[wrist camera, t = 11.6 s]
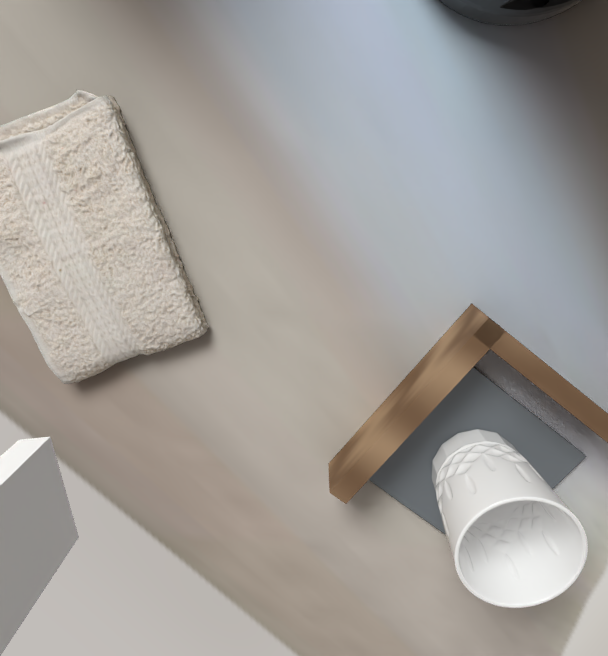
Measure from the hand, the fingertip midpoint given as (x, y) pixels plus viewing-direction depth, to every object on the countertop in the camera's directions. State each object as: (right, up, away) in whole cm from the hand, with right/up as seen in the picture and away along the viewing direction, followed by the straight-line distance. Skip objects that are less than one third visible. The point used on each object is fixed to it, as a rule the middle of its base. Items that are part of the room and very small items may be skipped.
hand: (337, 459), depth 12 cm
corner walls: (+12, -6, +29) cm, 32 cm away
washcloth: (-16, +9, +26) cm, 32 cm away
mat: (+13, -8, +30) cm, 33 cm away
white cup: (+13, -8, +30) cm, 33 cm away
